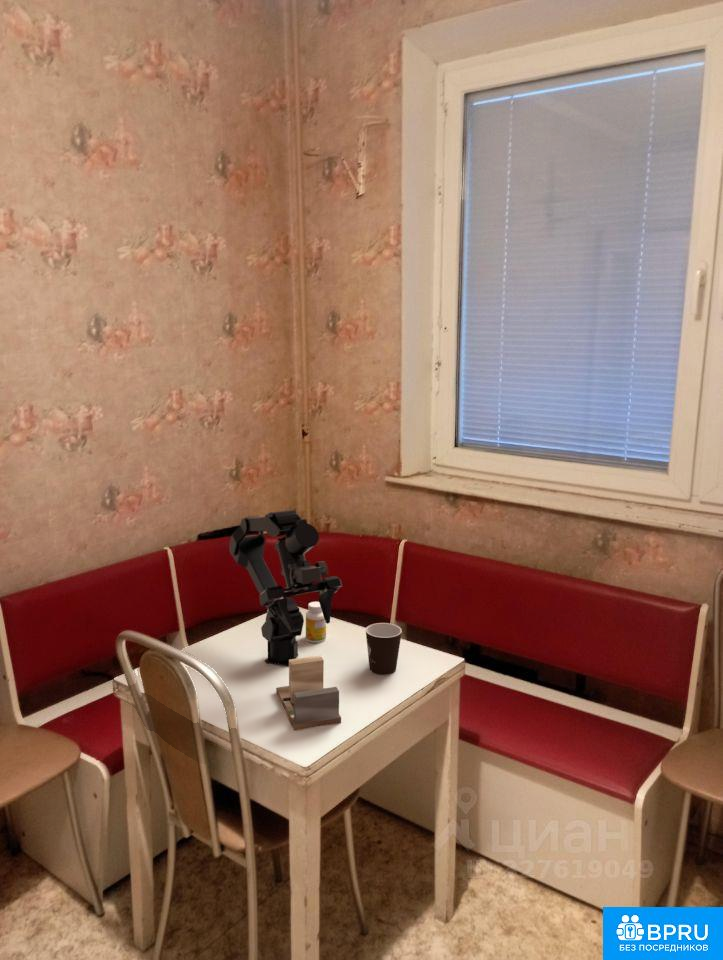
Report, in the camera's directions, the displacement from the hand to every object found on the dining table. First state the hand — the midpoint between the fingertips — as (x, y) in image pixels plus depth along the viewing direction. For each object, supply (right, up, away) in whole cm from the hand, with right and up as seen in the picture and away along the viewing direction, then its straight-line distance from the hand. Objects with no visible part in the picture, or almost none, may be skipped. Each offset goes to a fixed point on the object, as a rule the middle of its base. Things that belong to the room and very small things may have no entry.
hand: (310, 627), depth 162 cm
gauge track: (0, -16, -6) cm, 17 cm away
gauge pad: (-1, -14, -6) cm, 16 cm away
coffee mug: (+17, -12, +13) cm, 25 cm away
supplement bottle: (-1, -9, +28) cm, 29 cm away
